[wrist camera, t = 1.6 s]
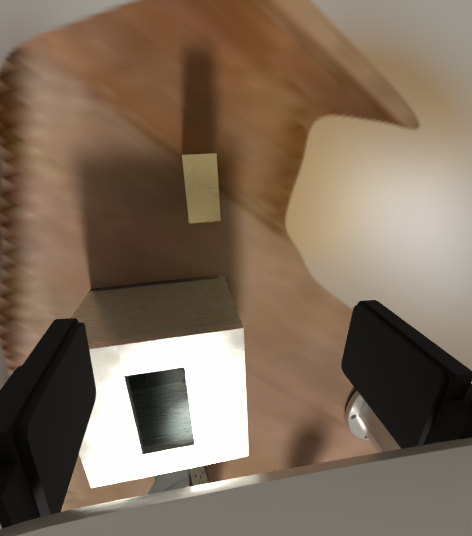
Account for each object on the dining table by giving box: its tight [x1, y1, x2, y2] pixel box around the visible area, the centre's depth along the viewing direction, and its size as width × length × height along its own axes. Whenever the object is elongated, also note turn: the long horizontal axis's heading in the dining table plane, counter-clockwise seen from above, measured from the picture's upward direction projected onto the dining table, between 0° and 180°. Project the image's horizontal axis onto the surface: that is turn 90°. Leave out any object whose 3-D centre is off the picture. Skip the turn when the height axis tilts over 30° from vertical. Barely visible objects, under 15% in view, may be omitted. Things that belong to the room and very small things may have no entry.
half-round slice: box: [148, 465, 210, 494], centre depth 35 cm, size 12×6×10 cm, turn 12°
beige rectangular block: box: [182, 153, 221, 223], centre depth 25 cm, size 2×5×7 cm, turn 2°
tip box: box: [71, 275, 249, 488], centre depth 29 cm, size 14×14×11 cm
